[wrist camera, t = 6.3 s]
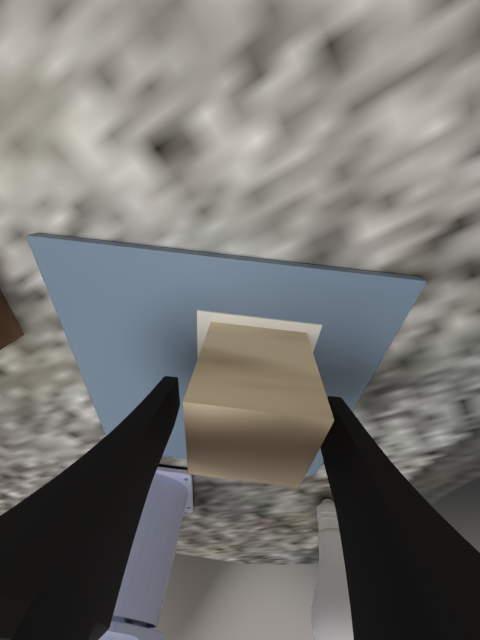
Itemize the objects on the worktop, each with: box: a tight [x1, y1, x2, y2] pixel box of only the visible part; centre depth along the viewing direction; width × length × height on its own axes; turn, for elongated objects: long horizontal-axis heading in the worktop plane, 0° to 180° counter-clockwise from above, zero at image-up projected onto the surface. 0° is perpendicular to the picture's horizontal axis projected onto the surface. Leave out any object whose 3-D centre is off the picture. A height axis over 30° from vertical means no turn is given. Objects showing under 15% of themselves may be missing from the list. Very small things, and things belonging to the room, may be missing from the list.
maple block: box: [183, 322, 334, 488], centre depth 11 cm, size 5×5×5 cm
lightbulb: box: [312, 499, 354, 640], centre depth 18 cm, size 6×6×11 cm
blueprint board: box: [26, 233, 427, 475], centre depth 15 cm, size 18×18×1 cm
